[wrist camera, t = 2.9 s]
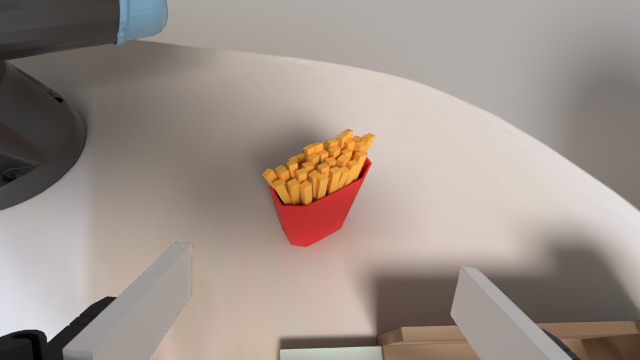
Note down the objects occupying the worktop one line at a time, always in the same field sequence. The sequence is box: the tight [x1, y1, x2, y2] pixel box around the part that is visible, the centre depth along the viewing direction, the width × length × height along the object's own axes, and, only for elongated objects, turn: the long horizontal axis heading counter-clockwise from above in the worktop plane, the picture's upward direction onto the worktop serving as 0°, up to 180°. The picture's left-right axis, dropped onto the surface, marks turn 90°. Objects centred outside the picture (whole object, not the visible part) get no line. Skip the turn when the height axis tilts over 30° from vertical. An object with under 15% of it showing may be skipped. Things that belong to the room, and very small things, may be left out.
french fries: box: [262, 129, 375, 247], centre depth 25 cm, size 8×4×12 cm, turn 121°
